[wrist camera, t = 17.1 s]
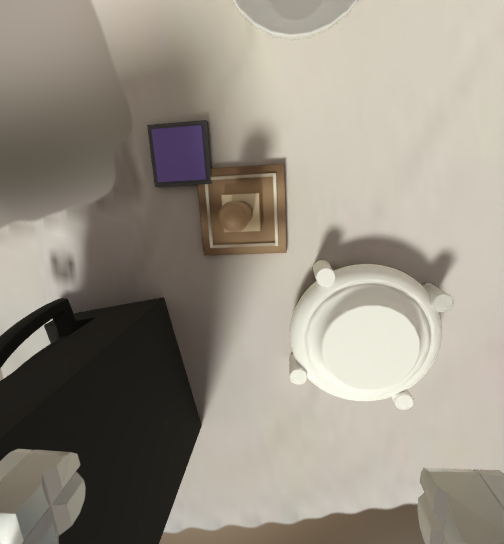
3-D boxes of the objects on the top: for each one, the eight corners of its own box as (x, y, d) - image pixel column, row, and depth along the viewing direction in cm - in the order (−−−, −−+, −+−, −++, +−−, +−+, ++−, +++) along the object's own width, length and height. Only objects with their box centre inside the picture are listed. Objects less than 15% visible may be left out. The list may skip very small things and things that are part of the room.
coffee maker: (48, 293, 51) (-408, 489, 18) (158, 272, 48) (-136, 459, 15) (102, 436, 58) (-157, 783, 24) (203, 425, 55) (69, 804, 21)
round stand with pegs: (471, 352, 47) (503, 380, 40) (328, 418, 52) (335, 452, 45) (393, 215, 43) (414, 219, 36) (248, 301, 48) (242, 319, 42)
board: (197, 169, 44) (195, 169, 43) (284, 164, 42) (283, 163, 41) (205, 254, 47) (203, 255, 46) (286, 251, 45) (286, 253, 44)
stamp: (223, 194, 44) (207, 195, 35) (259, 193, 43) (252, 193, 34) (226, 230, 45) (211, 240, 36) (261, 229, 44) (254, 239, 35)
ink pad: (151, 126, 43) (146, 124, 42) (208, 122, 42) (205, 119, 41) (158, 187, 45) (154, 187, 44) (212, 184, 44) (210, 183, 43)
